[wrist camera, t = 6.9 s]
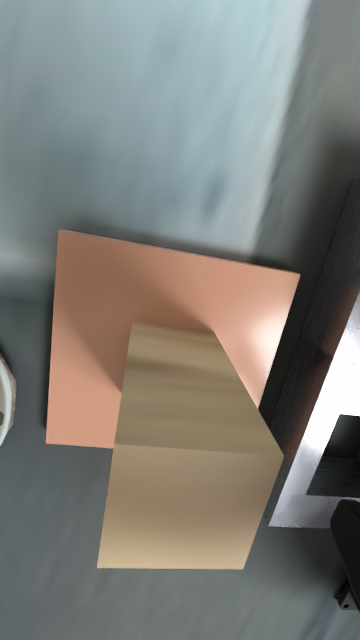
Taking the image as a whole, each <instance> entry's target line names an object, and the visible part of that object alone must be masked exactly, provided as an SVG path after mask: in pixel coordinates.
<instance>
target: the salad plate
mask: <svg viewBox="0 0 360 640" xmlns="http://www.w3.org/2000/svg"><path fill="white" fill-rule="evenodd" d="M16 389H17V385H16V380H15V378H14V376H13V374H12V372H11V370H10V368H9V366H8V364H7V363H6V361H5V359H4V358H3V356H2V354H1V353H0V445H1V444H2V443H3V441H4V438H5V436H6V434H7V432H8V430H9V429H10V428H11V426H12V424H13V422H14V411H15V403H16V402H15V397H16Z"/></svg>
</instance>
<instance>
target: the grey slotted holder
mask: <svg viewBox="0 0 360 640" xmlns="http://www.w3.org/2000/svg"><path fill="white" fill-rule="evenodd" d="M339 414H347V415H357V416H360V179H357V180H353V181H352V184H351V187H350V190H349V193H348V196H347V199H346V202H345V205H344V208H343V211H342V214H341V217H340V220H339V222H338V225H337V228H336V231H335V234H334V237H333V240H332V243H331V246H330V249H329V252H328V255H327V258H326V261H325V264H324V267H323V270H322V273H321V275H320V278H319V281H318V284H317V287H316V290H315V293H314V296H313V299H312V302H311V305H310V308H309V311H308V314H307V317H306V320H305V323H304V325H303V328H302V331H301V334H300V337H299V340H298V343H297V346H296V349H295V352H294V355H293V358H292V361H291V364H290V367H289V370H288V373H287V376H286V378H285V381H284V384H283V387H282V390H281V393H280V396H279V399H278V402H277V405H276V408H275V411H274V414H273V417H272V420H271V423H270V426H269V430H270V432H271V434H272V435H273V437H274V439H275V441H276V442H277V444H278V446H279V448H280V450H281V451H282V453H283V455H284V458H283V461H282V464H281V467H280V469H279V472H278V475H277V478H276V480H275V483H274V486H273V488H272V491H271V494H270V497H269V499H268V502H267V505H266V508H265V510H264V513H263V514H264V516H265V519H266V521H267V524H268V526H274V527H300V528H327V529H331V528H330V519H331V516H332V514H333V512H334V510H335V508H336V506H337V504H338V502H339V501H340V500H341V499H354V500H357V501H358V502H360V449H359V451H358V453H357V455H356V458H355V459H354V458H341V457H329V456H322V454H323V452H324V450H325V447H326V445H327V442H328V440H329V438H330V435H331V433H332V431H333V428H334V426H335V424H336V421H337V419H338V416H339Z"/></svg>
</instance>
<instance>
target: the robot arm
mask: <svg viewBox="0 0 360 640" xmlns="http://www.w3.org/2000/svg"><path fill="white" fill-rule="evenodd" d="M330 528H331V531H332V534H333V537H334V540H335V542H336V545H337V548H338V551H339V553H340V556H341V559H342V562H343V564H344V567H345V570H346V573H347V576H348V578H349V581H348V582H347V584H346V586H345V588H344V590H343V592H342V593H341V595H340V597H339V599H338V601H337V602H338V604H339V606H340V608H341V609H342V610H359V612H360V502H358V501H357V500H354V499H341V500H340V501H339V502H338V504H337V506H336V508H335V510H334V512H333V514H332V516H331V519H330Z"/></svg>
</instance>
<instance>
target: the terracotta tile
mask: <svg viewBox="0 0 360 640" xmlns="http://www.w3.org/2000/svg"><path fill="white" fill-rule="evenodd" d="M300 275H301V274H298V273H296V272H293V271H288V270H283V269H278V268H272V267H267V266H261V265H256V264H250V263H245V262H239V261H234V260H228V259H223V258H217V257H212V256H207V255H201V254H196V253H190V252H185V251H179V250H174V249H168V248H163V247H157V246H152V245H147V244H141V243H136V242H130V241H125V240H119V239H114V238H108V237H103V236H97V235H92V234H87V233H81V232H76V231H70V230H65V229H61V230H58V238H57V256H56V273H55V291H54V308H53V326H52V344H51V361H50V379H49V397H48V414H47V432H46V443H48V444H62V445H75V446H88V447H102V448H114V441H115V435H116V428H117V421H118V414H119V407H120V401H121V394H122V387H123V380H124V374H125V367H126V360H127V353H128V347H129V340H130V333H131V326H132V321H138V322H146V323H153V324H160V325H168V326H175V327H182V328H190V329H197V330H204V331H212V332H215V334H216V336H217V338H218V339H219V341H220V343H221V345H222V347H223V348H224V350H225V352H226V354H227V355H228V357H229V359H230V361H231V363H232V364H233V366H234V368H235V370H236V371H237V373H238V375H239V377H240V379H241V380H242V382H243V384H244V386H245V387H246V389H247V391H248V393H249V395H250V396H251V398H252V400H253V402H254V403H255V405H256V407H257V409H258V407H259V404H260V401H261V397H262V394H263V391H264V388H265V385H266V382H267V379H268V375H269V372H270V369H271V366H272V363H273V360H274V357H275V353H276V350H277V347H278V344H279V341H280V338H281V335H282V331H283V328H284V325H285V322H286V319H287V316H288V313H289V309H290V306H291V303H292V300H293V297H294V294H295V291H296V287H297V284H298V281H299V278H300Z"/></svg>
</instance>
